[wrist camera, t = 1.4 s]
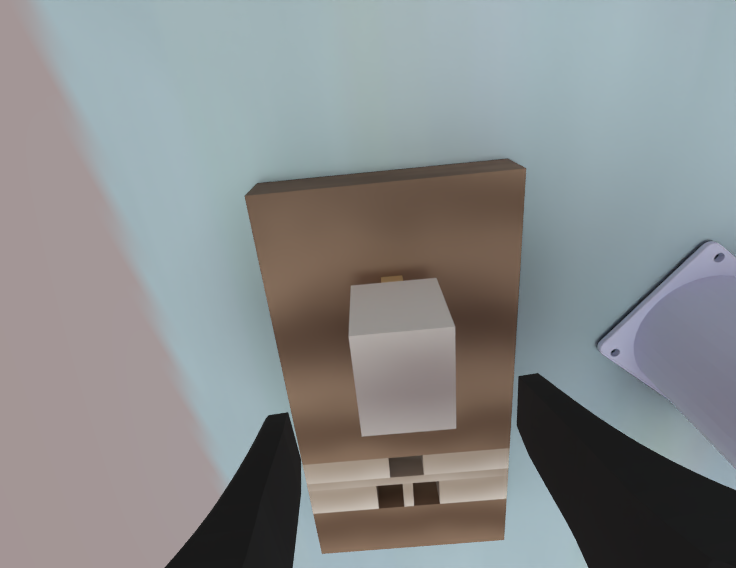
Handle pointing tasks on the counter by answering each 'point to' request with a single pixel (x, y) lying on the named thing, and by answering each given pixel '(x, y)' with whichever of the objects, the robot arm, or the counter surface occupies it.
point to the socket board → (333, 356)
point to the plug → (402, 356)
